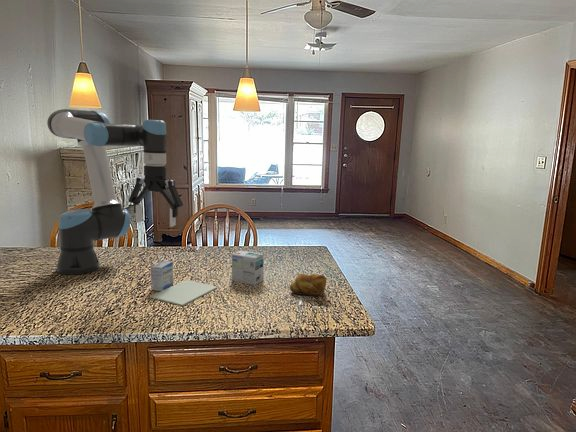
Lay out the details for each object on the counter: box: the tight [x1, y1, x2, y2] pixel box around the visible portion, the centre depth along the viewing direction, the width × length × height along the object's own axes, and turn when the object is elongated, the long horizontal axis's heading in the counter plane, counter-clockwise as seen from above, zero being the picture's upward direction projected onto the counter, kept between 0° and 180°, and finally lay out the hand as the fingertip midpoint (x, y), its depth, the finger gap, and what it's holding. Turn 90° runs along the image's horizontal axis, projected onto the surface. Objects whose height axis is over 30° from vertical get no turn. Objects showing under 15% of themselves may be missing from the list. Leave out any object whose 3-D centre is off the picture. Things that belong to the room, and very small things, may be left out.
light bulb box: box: [231, 250, 265, 286], centre depth 158 cm, size 11×7×11 cm, turn 65°
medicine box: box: [150, 260, 174, 292], centre depth 148 cm, size 8×4×9 cm, turn 167°
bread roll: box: [289, 273, 327, 297], centre depth 148 cm, size 13×10×8 cm
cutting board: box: [149, 279, 218, 307], centre depth 144 cm, size 14×19×1 cm
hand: (155, 224), depth 149 cm, fingers open, 13 cm apart
